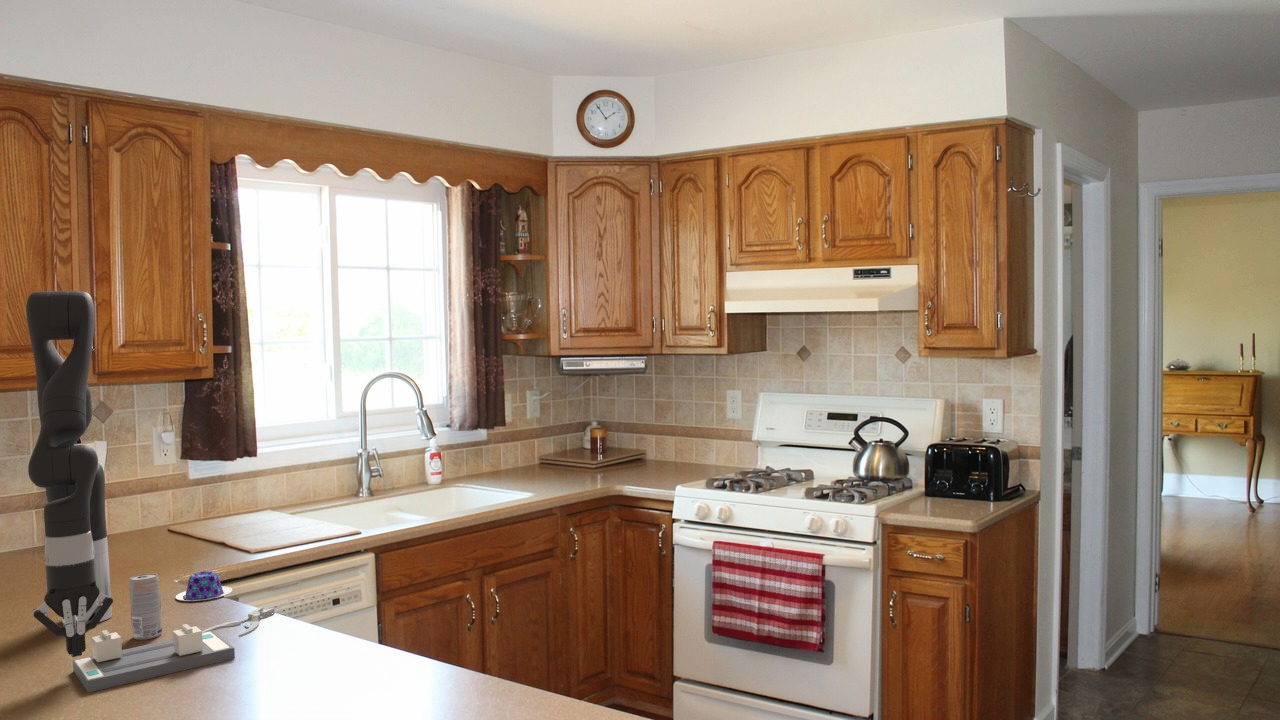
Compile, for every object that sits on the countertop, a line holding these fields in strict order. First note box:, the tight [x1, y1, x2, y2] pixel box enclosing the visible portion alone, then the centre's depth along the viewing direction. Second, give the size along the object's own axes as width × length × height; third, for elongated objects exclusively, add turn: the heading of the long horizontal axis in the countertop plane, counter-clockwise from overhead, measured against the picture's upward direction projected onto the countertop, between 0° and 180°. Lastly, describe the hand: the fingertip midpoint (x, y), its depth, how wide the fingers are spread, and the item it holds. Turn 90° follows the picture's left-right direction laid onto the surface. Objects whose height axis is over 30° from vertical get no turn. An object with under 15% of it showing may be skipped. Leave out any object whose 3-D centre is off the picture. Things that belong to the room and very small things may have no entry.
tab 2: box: [172, 623, 203, 656], centre depth 183 cm, size 4×4×4 cm
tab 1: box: [91, 629, 123, 662], centre depth 181 cm, size 4×4×4 cm
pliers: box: [201, 606, 276, 637], centre depth 206 cm, size 10×2×15 cm
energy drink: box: [128, 572, 163, 641], centre depth 200 cm, size 5×5×12 cm
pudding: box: [175, 570, 233, 602], centre depth 230 cm, size 12×12×5 cm
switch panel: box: [72, 630, 236, 694], centre depth 183 cm, size 14×24×2 cm, turn 128°
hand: (76, 655), depth 178 cm, fingers closed
